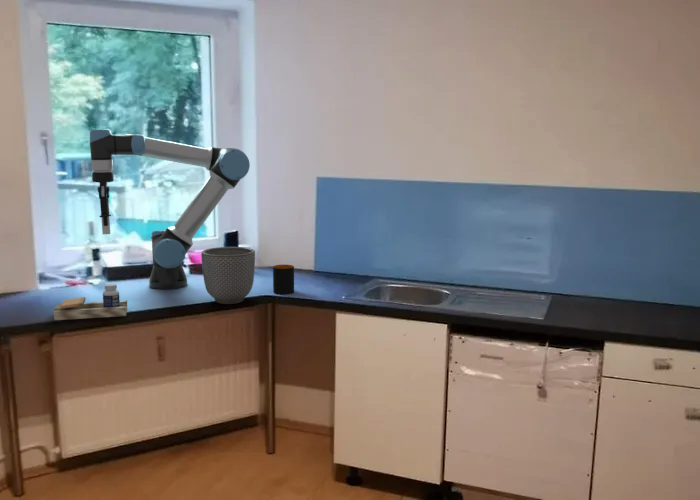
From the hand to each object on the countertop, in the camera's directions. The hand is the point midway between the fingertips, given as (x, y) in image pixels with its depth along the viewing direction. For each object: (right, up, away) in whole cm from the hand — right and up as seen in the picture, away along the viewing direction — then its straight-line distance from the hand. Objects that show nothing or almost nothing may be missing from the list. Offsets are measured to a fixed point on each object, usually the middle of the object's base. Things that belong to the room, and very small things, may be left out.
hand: (106, 233), depth 260 cm
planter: (+47, -25, -1) cm, 53 cm away
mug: (+65, -23, +15) cm, 71 cm away
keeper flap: (-3, -25, -23) cm, 34 cm away
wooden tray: (+3, -28, -21) cm, 36 cm away
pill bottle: (+9, -28, -20) cm, 35 cm away
